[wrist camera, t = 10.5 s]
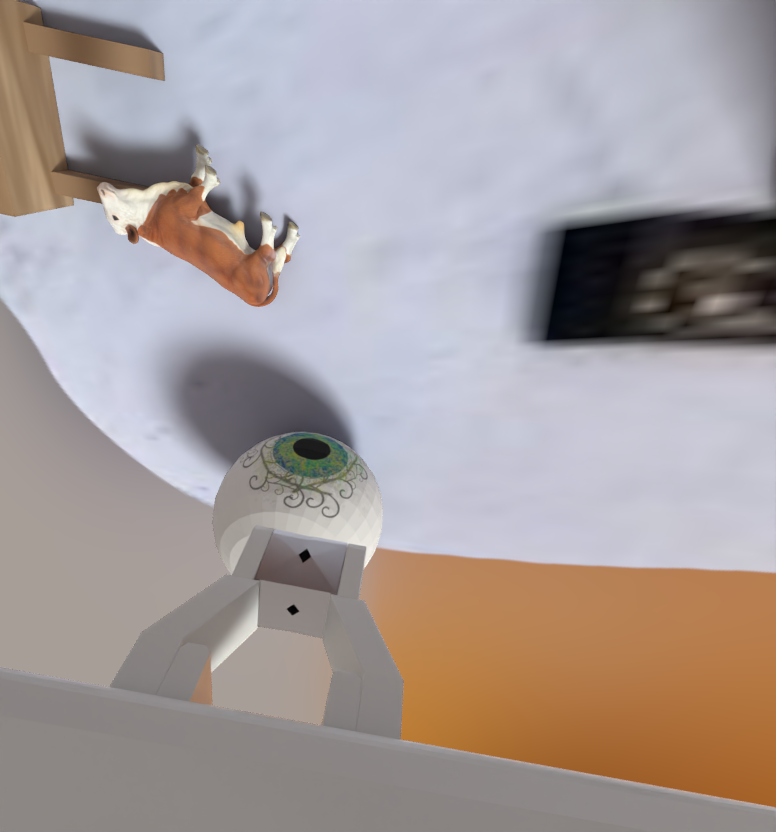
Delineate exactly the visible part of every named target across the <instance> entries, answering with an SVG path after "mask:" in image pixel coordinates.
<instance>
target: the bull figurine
mask: <svg viewBox="0 0 776 832" xmlns="http://www.w3.org/2000/svg"><path fill="white" fill-rule="evenodd" d="M196 152H197V163H196V170H195V172H194V173H193V174H192V176H191V180H190V184H187V183H181V182H177V181H171V182H167V183H165V182H162V183H157V184H154V185H152V186H150V187H149V188H147V189H145V190H138V189H134V188H128V189H121V190H120V189H116V188H115V187H113V186H112V185H111V184H109V183H107V182H102V183H100V185H99V186H98V187H97V190H98V193H99V195H100V198H101V201H102V204H103V207H104V210H105V214H106V217H107V219H108V221H109V223H110V224H111V225H112V226H113V228H114V231H115V232H116V233H117V234H120V235H127V234H128V240H129V241H130V242H131V243H133V244H136V243H137V242H138V240H139V236H140V237H141V238H142V239H144V240H145V241H146V242H148V243H149V244H152V245H155V246H158V247H162V248H164V249H165V250H167V251H168V252H170V253H171V254H173V255H175V256H177V257H179V258H181V259H183V260H185V261H187V262H189V263H191V264H192V265H194V266H195V267H197V268H198V269H200V270H201V271H203V272H205V273H206V274H208V275H209V276H210V277H212V278H213V279H214V280H215V281H217V282H218V283H219V284H220V285H221V286H222V287H224V288H225V289H227V290H229V291H231V292H232V293H234V294H235V295H237V296H238V297H240V298H241V299H242V300H244V301H245V302H246V303H248V304H249V305H252V306H256V307H261V306H265V305H268V304H270V303H271V302H272V301H273V300H274V299H275V297H276V295H277V292H278V277H279V275H280V272H281V270H282V268H283V265H284V263H287V262H289V261H290V259H291V253H292V250H293V248H294V246H295V244H296V242H297V241H298V240H299V238H300V235H298V234H297V232H298V226H297V225H296V224H294V223H293V222H291V221H290V222H289V223H288V231H287V237H286V239H285V241H284V242H283V243H282V244H281V245H280V246H279V247H277V248H274V236H275V233H276V230H277V227H276V226H273V225H272V219H271V217H270V216H269V215H267V214H266V213H264V212H260V216H261V222H262V228H263V237H262V241H261V244H260V246H259V248H258V249H257V250H254V249H252V248H251V247H249V245H248V243H247V240H246V238H245V234H244V223H243V222H242V221H237V223H235V224H233V223H231V222H230V221H228V220H227V219H225V218H223V217H221V216H219V215H217V214H216V213H214V212H213V211H211V209H210V208H209V206H208V205H207V203H206V201H205V198H206V196H207V194H208V192H209V191H210V190H211V189H213V188H214V187H215V186H218V185H219V184H220V181H219V178H217V177H216V175H217V174H216V171H215V170H214V169H213V168H212V167H210V166H209V165H210V164H211V163H212V161H211V158H209V157H208V153H209V152H208V151H207V150H206V149H205V148H204V147H202V146H200V145H196ZM272 287H273V291H272V293H271V295H269V296H268V294H269V293H270V291H271V289H272ZM267 296H268V297H267Z"/></svg>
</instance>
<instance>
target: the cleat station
mask: <svg viewBox="0 0 776 832" xmlns="http://www.w3.org/2000/svg"><path fill="white" fill-rule="evenodd" d="M49 56H51V57H56V58H60V59H65V60H69V61H74V62H79V63H83V64H88V65H92V66H97V67H102V68H106V69H111V70H115V71H120V72H125V73H129V74H134V75H138V76H143V77H148V78H152V79H157V80H163V81H165V76H164V61H163V54H162V53H159V52H156V51H152V50H149V49H144V48H140V47H135V46H131V45H126V44H122V43H117V42H112V41H108V40H103V39H99V38H94V37H90V36H85V35H80V34H76V33H71V32H67V31H62V30H58V29H53V28H49V27H44V26H43V21H42V15H41V9H40V8H39V7H36V6H33V5H29V4H26V3H23V2H20V1H17V0H0V214H5V215H9V216H14V217H16V216H21V215H26V214H31V213H36V212H41V211H47V210H52V209H57V208H62V207H67V206H72V205H74V203H73V198H77V199H82V200H87V201H92V202H97V203H101V204H102V201H101V198H100V195H99V193H98V190H97V187H98V186H99V185H100V183H102V182H107V183H109V184H111V185H112V186H113V187H115V188H116V189H120V190H121V189H128V188H134V189H138V190H145V189H147V188H149V187H146V186H142V185H137V184H132V183H128V182H123V181H118V180H113V179H109V178H104V177H99V176H94V175H90V174H85V173H80V172H76V171H71V170H68V167H67V161H66V156H65V150H64V144H63V138H62V132H61V126H60V120H59V115H58V109H57V103H56V97H55V91H54V85H53V79H52V73H51V68H50V62H49Z"/></svg>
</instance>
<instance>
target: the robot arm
mask: <svg viewBox="0 0 776 832" xmlns="http://www.w3.org/2000/svg"><path fill="white" fill-rule="evenodd" d="M366 551H367V549H366V546H361V545H355V544H350V543H348V545H347V543H346V542H340V541H335V540H329V539H324V538H318V537H312V536H311V537H310V536H305V535H300V534H296V533H291V532H287V531H282V530H278V529H272V528H267V527H262V526H258V525H256V526H255V527H254V528H253V530H252V532H251V534H250V536H249V538H248V540H247V543H246V545H245V547H244V549H243V551H242V554H241V556H240V558H239V560H238V562H237V565H236V567H235V569H234V571H233V573H232V575H227V574H226V575H224V576H223V577H221V578H220V579H218V580H217V581H216V582H214V583H213V584H211V585H210V586H208V587H207V588H205V589H204V590H202V591H201V592H199V593H198V594H196V595H195V596H194V597H192V598H191V599H189V600H188V601H186V602H185V603H184V604H182V605H181V606H179V607H177V608H176V609H175V610H173V611H172V612H170V613H169V614H167V615H166V616H164V617H163V618H162V619H160V620H159V621H157V622H156V623H154V624H153V625H151V626H150V627H148V628H147V629H145V630H144V631H142V633H141V634H140V636H139V638H138V639H137V641H136V643H135V644H134V646H133V648H132V650H131V651H130V653H129V655H128V656H127V658H126V660H125V661H124V663H123V665H122V666H121V668H120V670H119V671H118V673H117V675H116V677H115V678H114V680H113V682H112V683H111V685H110V687H107V686H102V685H96V684H91V683H85V682H79V681H74V680H69V679H63V678H58V677H52V676H46V675H41V674H35V673H30V672H25V671H18V670H13V669H8V668H2V667H0V832H776V807H770V806H765V805H760V804H754V803H748V802H743V801H737V800H732V799H726V798H721V797H715V796H710V795H704V794H699V793H693V792H688V791H682V790H676V789H671V788H665V787H660V786H654V785H649V784H643V783H638V782H632V781H627V780H621V779H615V778H610V777H605V776H599V775H594V774H587V773H582V772H577V771H571V770H565V769H560V768H555V767H549V766H544V765H538V764H533V763H527V762H522V761H516V760H510V759H505V758H499V757H494V756H488V755H483V754H477V753H472V752H466V751H461V750H455V749H450V748H444V747H439V746H433V745H427V744H422V743H417V742H411V741H405V740H401V721H402V701H403V683H404V681H403V679H402V677H401V675H400V673H399V670H398V669H397V667H396V664H395V662H394V660H393V658H392V656H391V654H390V652H389V650H388V648H387V646H386V644H385V642H384V640H383V638H382V636H381V634H380V632H379V630H378V627H377V626H376V623H375V622H374V619H373V617H372V615H371V613H370V611H369V609H368V607H367V605H366V603H365V601H364V600H360V599H359V595H360V589H361V582H362V576H363V569H364V563H365V557H366ZM257 626H258V627H264V628H271V629H277V630H284V631H290V632H295V633H299V634H304V635H309V636H313V637H318V638H322V639H323V643H324V647H325V650H326V653H327V656H328V659H329V662H330V665H331V668H332V671H333V675H332V678H331V683H330V688H329V692H328V697H327V701H326V706H325V711H324V715H323V719H322V724H321V725H318V724H312V723H306V722H301V721H295V720H290V719H284V718H279V717H273V716H268V715H262V714H257V713H251V712H246V711H240V710H234V709H229V708H224V707H218V706H213V704H212V681H211V672H212V671H213V670H215V669H216V668H217V666H219V665H220V664H221V663H222V662H223V661H224V660H225V659H226V658H227V657H228V656H229V655H230V654H231V653H232V652H233V651H234V650H235V649H236V648H237V647H239V646H240V644H242V643H243V642H244V641H245V640H246V639H247V638H248V637H249V636H250V635H251V634H252V633H253V632H254V631H255V630H256V629H257Z"/></svg>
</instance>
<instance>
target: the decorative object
mask: <svg viewBox="0 0 776 832" xmlns="http://www.w3.org/2000/svg"><path fill="white" fill-rule="evenodd" d="M382 522H383V505H382V499H381V494H380V490H379V487H378V484H377V482H376V479H375V477H374V475H373V473H372V472H371V470H370V469H369V467H368V466H367V464H366V463H365V462H364V461H363V459H362V458H361V457H360V456H359V455H358V454H357V453H356V452H355V451H354V450H353V449H351V448H350V447H348V446H347V445H345V444H344V443H342V442H340V441H338V440H336V439H334V438H332V437H329V436H326V435H322V434H319V433H312V432H290V433H286V434H281V435H277V436H273V437H270V438H268V439H266V440H264V441H261V442H259V443H258V444H256V445H255V446H253V447H252V448H251V449H249V450H248V451H247V452H245V453H244V454H243V455H241V456H240V457H239V458H238V460H237V461H236V462H235V463H234V465H233V466H232V467H231V468H230V470H229V471H228V472H227V473H226V475H225V477H224V479H223V481H222V483H221V486H220V488H219V490H218V493H217V495H216V498H215V504H214V511H213V520H212V524H213V531H214V537H215V543H216V547H217V549H218V552H219V554H220V556H221V558H222V560H223V562H224V564H225V566H226V567H227V569H228V570H229V572H230V573H231V574H232V573H233V571H234V569H235V567H236V565H237V562H238V560H239V558H240V556H241V554H242V551H243V549H244V547H245V545H246V543H247V540H248V538H249V536H250V534H251V532H252V530H253V528H254V527H255V526H256V525H258V526H262V527H267V528H272V529H278V530H282V531H287V532H291V533H296V534H300V535H305V536H310V537H311V536H312V537H318V538H324V539H329V540H335V541H340V542H346V543H347V545H348V543H350V544H355V545H361V546H366V549H367V551H366V557H365V563H364V568H365V566H366V565H367V564H368V562H369V561H370V559H371V557H372V555H373V554H374V552H375V549H376V547H377V544H378V542H379V538H380V534H381V530H382Z"/></svg>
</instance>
